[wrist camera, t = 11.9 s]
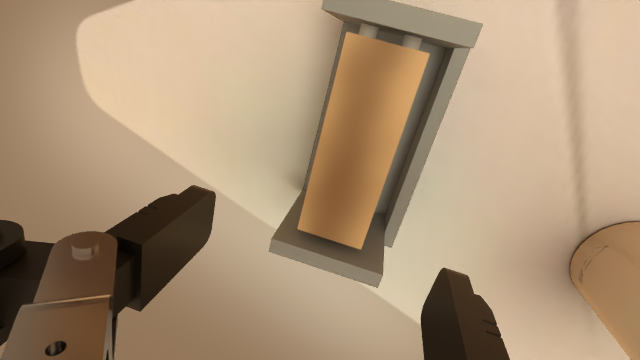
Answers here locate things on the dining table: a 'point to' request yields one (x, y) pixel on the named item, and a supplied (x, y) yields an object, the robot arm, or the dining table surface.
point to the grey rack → (416, 140)
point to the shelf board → (360, 136)
